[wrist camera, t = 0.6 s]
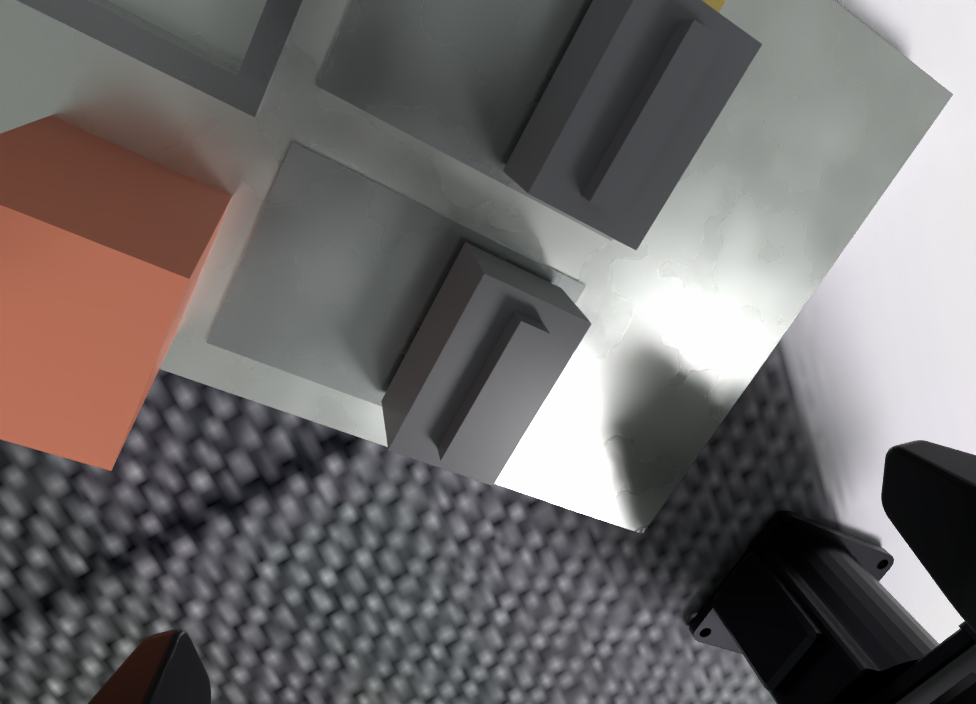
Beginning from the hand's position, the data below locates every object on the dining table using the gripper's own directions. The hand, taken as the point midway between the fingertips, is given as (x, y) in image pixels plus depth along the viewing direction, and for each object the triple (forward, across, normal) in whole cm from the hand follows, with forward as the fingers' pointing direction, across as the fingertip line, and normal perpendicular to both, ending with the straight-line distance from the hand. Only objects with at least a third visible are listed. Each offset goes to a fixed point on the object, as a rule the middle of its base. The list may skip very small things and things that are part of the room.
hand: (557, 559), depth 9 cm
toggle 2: (+11, -5, -4) cm, 12 cm away
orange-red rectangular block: (+11, +7, -3) cm, 14 cm away
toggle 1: (+11, 0, +2) cm, 11 cm away
